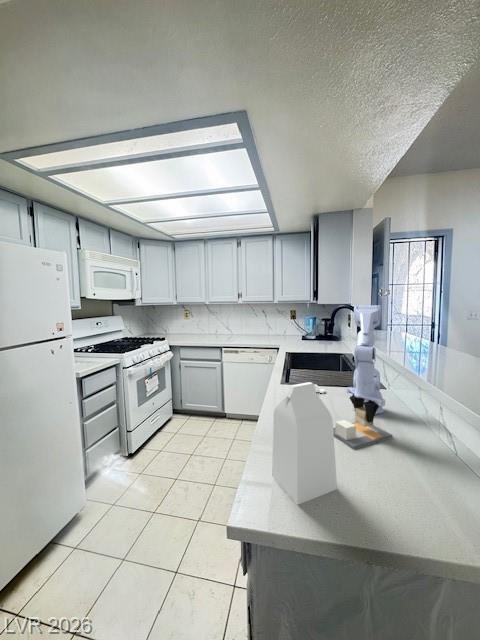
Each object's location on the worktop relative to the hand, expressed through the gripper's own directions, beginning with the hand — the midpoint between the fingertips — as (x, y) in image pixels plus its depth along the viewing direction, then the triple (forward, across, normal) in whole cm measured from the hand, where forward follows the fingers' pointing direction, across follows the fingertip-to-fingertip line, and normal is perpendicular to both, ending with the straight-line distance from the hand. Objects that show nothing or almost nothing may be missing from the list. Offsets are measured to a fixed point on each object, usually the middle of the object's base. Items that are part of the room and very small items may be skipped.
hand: (364, 419), depth 93 cm
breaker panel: (+5, 0, -2) cm, 6 cm away
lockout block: (+2, 0, 0) cm, 2 cm away
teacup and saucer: (+6, -38, +10) cm, 40 cm away
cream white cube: (+4, 0, -9) cm, 9 cm away
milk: (+6, +12, -34) cm, 36 cm away
